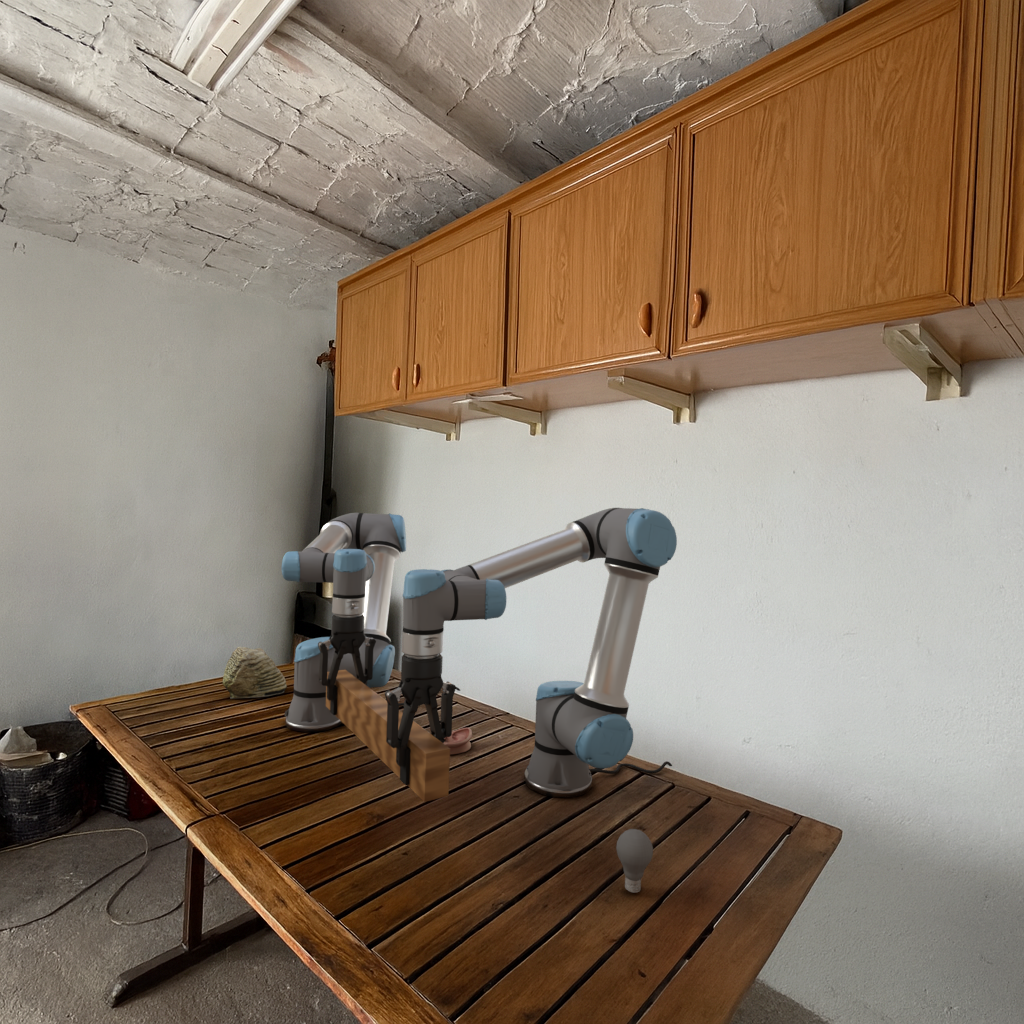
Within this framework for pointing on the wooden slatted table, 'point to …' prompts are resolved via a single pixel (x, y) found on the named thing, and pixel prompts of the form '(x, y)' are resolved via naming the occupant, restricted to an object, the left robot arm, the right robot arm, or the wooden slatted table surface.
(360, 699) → the post
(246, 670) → the fossil
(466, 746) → the anatomical model
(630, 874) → the light bulb
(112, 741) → the wooden slatted table surface
